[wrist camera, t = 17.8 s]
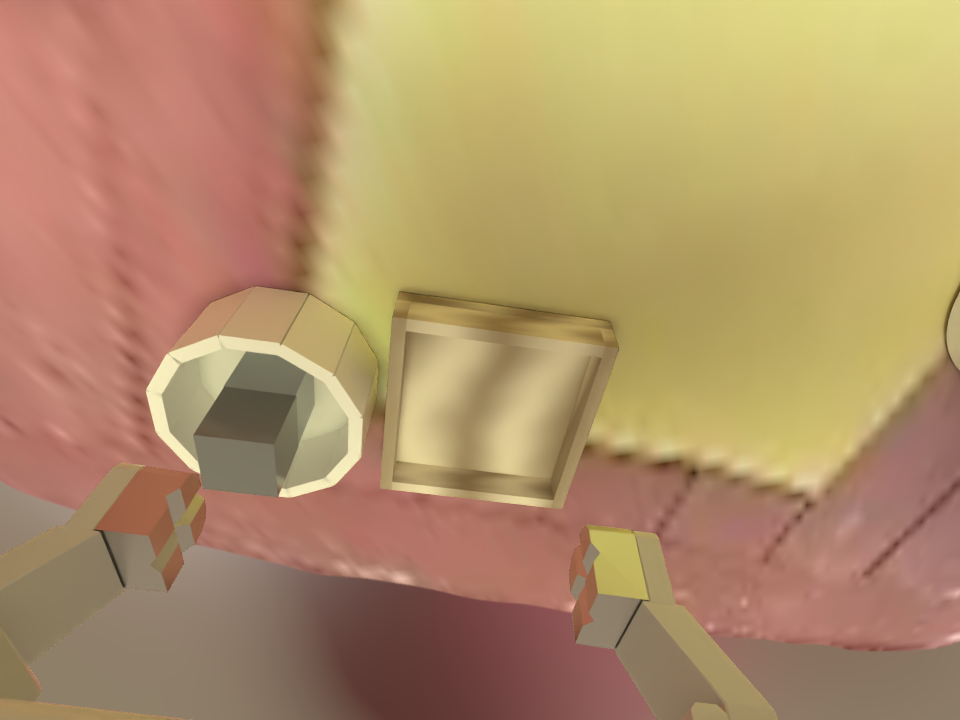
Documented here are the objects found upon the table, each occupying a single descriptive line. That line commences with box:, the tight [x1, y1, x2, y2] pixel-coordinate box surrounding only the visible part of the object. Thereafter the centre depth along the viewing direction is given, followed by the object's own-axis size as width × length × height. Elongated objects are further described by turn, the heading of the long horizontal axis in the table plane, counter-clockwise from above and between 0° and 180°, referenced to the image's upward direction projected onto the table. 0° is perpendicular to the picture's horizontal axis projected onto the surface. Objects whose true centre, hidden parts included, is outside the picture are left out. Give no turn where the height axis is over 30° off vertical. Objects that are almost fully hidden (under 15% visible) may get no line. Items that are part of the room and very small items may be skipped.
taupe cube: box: [223, 351, 315, 445], centre depth 34 cm, size 4×4×4 cm
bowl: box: [146, 286, 379, 498], centre depth 34 cm, size 12×12×6 cm
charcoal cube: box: [193, 386, 299, 497], centre depth 31 cm, size 4×4×4 cm
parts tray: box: [380, 292, 619, 509], centre depth 36 cm, size 13×14×3 cm
